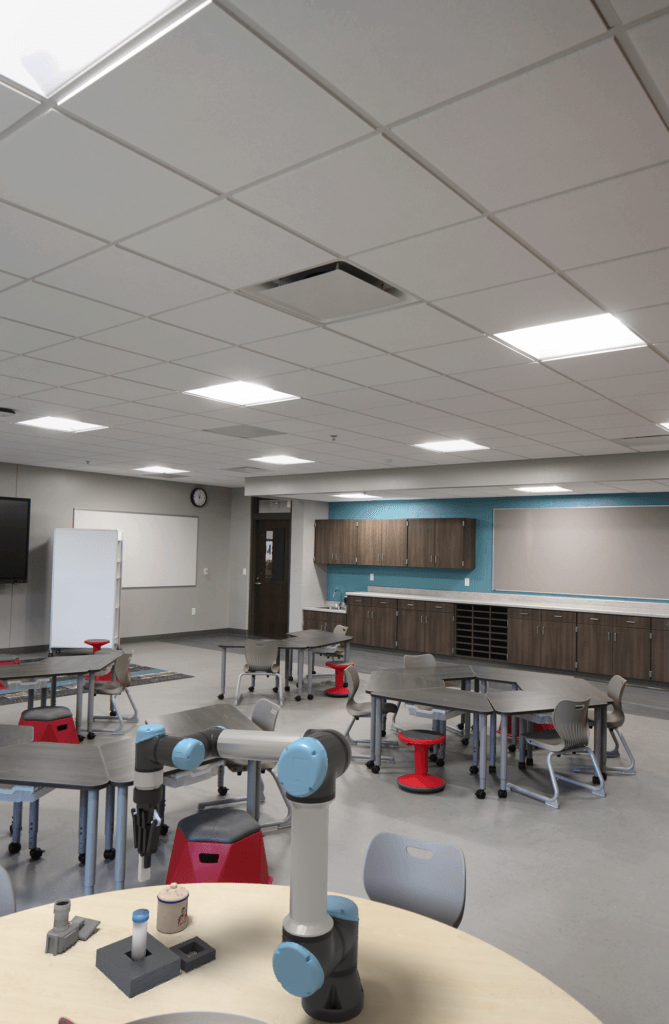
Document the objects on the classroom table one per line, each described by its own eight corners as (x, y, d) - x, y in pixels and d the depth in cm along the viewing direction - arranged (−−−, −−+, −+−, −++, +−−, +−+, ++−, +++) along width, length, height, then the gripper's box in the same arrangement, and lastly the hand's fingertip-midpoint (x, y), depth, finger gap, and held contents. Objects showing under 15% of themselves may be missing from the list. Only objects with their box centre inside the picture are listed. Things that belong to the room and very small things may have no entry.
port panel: (180, 974, 166) (181, 956, 166) (129, 998, 156) (130, 979, 156) (144, 945, 178) (145, 929, 179) (95, 965, 169) (96, 948, 169)
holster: (215, 959, 173) (215, 949, 173) (186, 973, 167) (186, 962, 167) (196, 945, 179) (196, 935, 179) (167, 958, 173) (168, 948, 173)
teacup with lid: (183, 934, 184) (185, 891, 186) (151, 933, 184) (154, 890, 186) (192, 913, 196) (194, 872, 198) (162, 912, 196) (164, 871, 198)
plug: (149, 970, 167) (152, 912, 169) (134, 977, 164) (137, 918, 166) (140, 963, 170) (144, 906, 172) (126, 970, 167) (129, 912, 169)
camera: (40, 904, 176) (78, 882, 190) (36, 951, 174) (75, 925, 188) (67, 910, 173) (103, 887, 187) (63, 958, 172) (100, 930, 186)
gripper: (173, 788, 170) (169, 883, 168) (148, 777, 179) (144, 867, 177) (148, 794, 165) (143, 892, 162) (123, 783, 174) (118, 876, 171)
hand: (143, 879), depth 169 cm, fingers closed
